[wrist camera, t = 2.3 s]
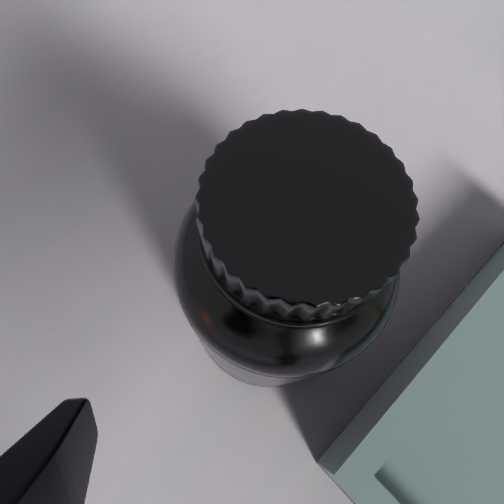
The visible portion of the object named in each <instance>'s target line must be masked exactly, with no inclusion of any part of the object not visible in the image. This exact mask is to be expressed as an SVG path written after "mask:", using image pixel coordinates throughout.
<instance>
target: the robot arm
mask: <svg viewBox="0 0 504 504" xmlns="http://www.w3.org/2000/svg"><path fill="white" fill-rule="evenodd" d="M97 437H98V432H97V426H96V422H95V418H94V414H93V411H92V407H91V403H90V401H89V400H88V399H87V398H75V399H67V400H64V401H63V402H62V403H60V404H59V405H58V406H57V407H56V408H55V409H54V410H52V411H51V412H50V413H49V414H48V415H47V416H46V417H44V418H43V419H42V420H41V421H40V422H39V423H38V424H37V425H35V426H34V427H33V428H32V429H31V430H30V431H29V432H27V433H26V434H25V435H24V436H23V437H22V438H21V439H19V440H18V441H17V442H16V443H15V444H14V445H13V446H11V447H10V448H9V449H8V450H7V451H6V452H5V453H4V454H2V455H1V456H0V504H84V502H85V498H86V493H87V488H88V483H89V478H90V473H91V468H92V464H93V459H94V454H95V449H96V444H97Z"/></svg>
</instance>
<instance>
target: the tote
mask: <svg viewBox="0 0 504 504" xmlns="http://www.w3.org/2000/svg"><path fill="white" fill-rule="evenodd" d="M316 463H317V464H318V465H319V466H320V467H321V468H322V469H323V470H324V471H325V473H326V474H327V475H328V476H329V477H330V478H331V479H332V480H333V481H334V482H335V484H336V485H337V486H338V487H339V488H340V489H341V490H342V491H343V492H344V493H345V495H346V496H347V497H348V498H349V499H350V500H351V501H352V502H353V503H354V504H504V242H503V244H502V245H501V246H500V247H499V248H498V249H497V251H496V252H495V253H494V254H493V255H492V256H491V258H490V259H489V260H488V261H487V262H486V263H485V265H484V266H483V267H482V268H481V269H480V270H479V272H478V273H477V274H476V275H475V276H474V277H473V279H472V280H471V281H470V282H469V283H468V285H467V286H466V287H465V288H464V289H463V290H462V292H461V293H460V294H459V295H458V296H457V297H456V299H455V300H454V301H453V302H452V303H451V304H450V306H449V307H448V308H447V309H446V310H445V311H444V313H443V314H442V315H441V316H440V317H439V319H438V320H437V321H436V322H435V323H434V324H433V326H432V327H431V328H430V329H429V330H428V331H427V333H426V334H425V335H424V336H423V337H422V338H421V340H420V341H419V342H418V343H417V344H416V345H415V347H414V348H413V349H412V350H411V351H410V352H409V354H408V355H407V356H406V357H405V358H404V360H403V361H402V362H401V363H400V364H399V365H398V367H397V368H396V369H395V370H394V371H393V372H392V374H391V375H390V376H389V377H388V378H387V379H386V381H385V382H384V383H383V384H382V385H381V386H380V388H379V389H378V390H377V391H376V392H375V394H374V395H373V396H372V397H371V398H370V399H369V401H368V402H367V403H366V404H365V405H364V406H363V408H362V409H361V410H360V411H359V412H358V413H357V415H356V416H355V417H354V418H353V419H352V420H351V422H350V423H349V424H348V425H347V426H346V427H345V429H344V430H343V431H342V432H341V433H340V435H339V436H338V437H337V438H336V439H335V440H334V442H333V443H332V444H331V445H330V446H329V447H328V449H327V450H326V451H325V452H324V453H323V454H322V456H321V457H320V458H319V459H318V460H317V461H316Z"/></svg>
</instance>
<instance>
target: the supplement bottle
mask: <svg viewBox="0 0 504 504" xmlns="http://www.w3.org/2000/svg"><path fill="white" fill-rule="evenodd" d="M198 184H199V191H198V193H197V195H196V198H195V202H194V203H193V204H192V206H191V207H190V209H189V210H188V212H187V214H186V215H185V217H184V219H183V221H182V224H181V226H180V229H179V232H178V234H177V238H176V242H175V247H174V255H173V274H174V282H175V287H176V291H177V294H178V298H179V301H180V304H181V306H182V309H183V311H184V314H185V316H186V317H187V319H188V321H189V323H190V325H191V326H192V328H193V330H194V331H195V333H196V335H197V337H198V338H199V340H200V342H201V343H202V345H203V347H204V348H205V350H206V352H207V353H208V354H209V356H210V357H211V358H212V360H213V361H214V362H215V363H216V364H217V365H218V366H219V367H220V368H221V369H222V370H223V371H225V372H226V373H227V374H229V375H230V376H232V377H234V378H236V379H238V380H240V381H242V382H245V383H247V384H251V385H256V386H263V387H274V386H282V385H287V384H291V383H294V382H298V381H301V380H304V379H307V378H310V377H313V376H316V375H319V374H323V373H325V372H328V371H330V370H333V369H335V368H337V367H339V366H341V365H343V364H345V363H347V362H348V361H350V360H351V359H353V358H354V357H356V356H357V355H359V354H360V353H361V352H362V351H364V350H365V349H366V348H367V347H368V346H369V345H370V344H371V343H372V342H373V341H374V340H375V339H376V337H377V336H378V335H379V334H380V332H381V331H382V329H383V328H384V326H385V324H386V323H387V321H388V319H389V317H390V315H391V313H392V310H393V308H394V305H395V302H396V298H397V294H398V289H399V280H400V267H401V266H402V265H403V264H404V263H405V262H406V261H407V260H408V259H409V256H410V247H411V246H412V245H413V244H414V242H415V241H416V239H417V236H416V230H415V227H416V226H417V224H418V222H419V220H420V219H419V215H418V212H417V210H416V207H417V204H418V198H417V196H416V195H415V193H414V192H413V181H412V179H411V178H410V177H409V176H408V175H407V174H406V172H405V167H404V164H403V163H402V162H401V161H400V160H399V159H397V158H396V157H395V155H394V152H393V150H392V149H391V147H389V146H387V145H386V144H384V143H382V142H381V140H380V139H379V137H378V136H377V135H376V134H374V133H372V132H369V131H367V130H366V129H365V128H364V127H363V126H362V125H361V124H359V123H356V122H351V121H348V120H347V119H346V118H344V117H343V116H340V115H330V114H328V113H326V112H324V111H314V112H311V111H308V110H305V109H299V110H296V111H288V110H281V111H279V112H277V113H275V114H263V115H262V116H260V117H259V118H258V119H256V120H250V121H246V122H245V123H244V124H243V125H242V126H241V127H240V128H239V129H236V130H233V131H231V132H230V133H229V134H228V136H227V138H226V140H224V141H222V142H220V143H219V144H217V145H216V148H215V151H214V154H213V155H212V156H210V157H209V158H208V159H207V160H206V162H205V171H204V172H203V173H202V174H201V176H200V177H199V180H198Z"/></svg>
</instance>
